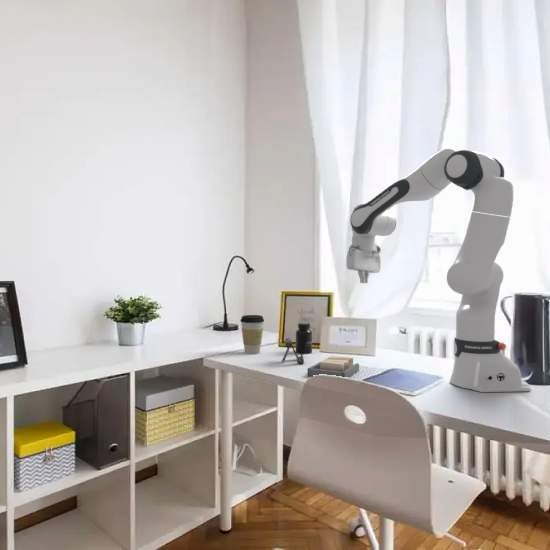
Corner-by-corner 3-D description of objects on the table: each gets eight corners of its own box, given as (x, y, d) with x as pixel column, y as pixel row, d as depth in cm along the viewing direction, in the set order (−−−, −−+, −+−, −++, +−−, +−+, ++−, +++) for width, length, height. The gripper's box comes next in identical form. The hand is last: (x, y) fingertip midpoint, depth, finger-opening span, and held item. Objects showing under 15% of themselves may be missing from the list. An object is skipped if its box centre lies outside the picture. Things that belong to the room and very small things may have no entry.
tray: (359, 370, 169) (359, 363, 169) (344, 380, 156) (344, 373, 156) (324, 366, 175) (324, 359, 175) (307, 376, 162) (307, 368, 162)
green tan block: (331, 355, 175) (320, 361, 165) (353, 357, 171) (342, 364, 161) (331, 365, 175) (320, 372, 165) (353, 368, 171) (342, 375, 162)
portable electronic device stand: (303, 364, 179) (303, 342, 178) (282, 364, 179) (282, 342, 178) (302, 359, 187) (302, 338, 187) (281, 359, 187) (281, 338, 187)
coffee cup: (268, 353, 198) (268, 316, 198) (247, 356, 193) (246, 318, 193) (257, 349, 207) (257, 314, 206) (236, 351, 202) (236, 315, 201)
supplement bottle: (311, 354, 196) (311, 324, 196) (294, 353, 198) (294, 324, 197) (313, 351, 203) (313, 322, 203) (297, 350, 205) (296, 322, 204)
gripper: (356, 243, 176) (357, 281, 175) (383, 249, 192) (383, 284, 191) (342, 244, 180) (342, 281, 179) (368, 250, 196) (369, 284, 195)
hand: (364, 283), depth 185 cm, fingers closed
